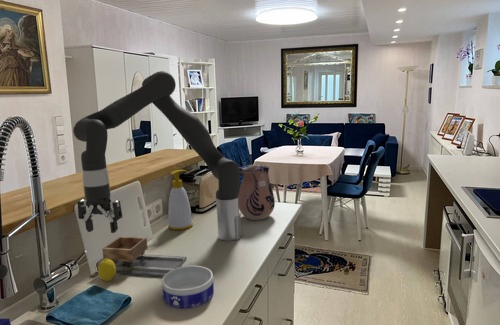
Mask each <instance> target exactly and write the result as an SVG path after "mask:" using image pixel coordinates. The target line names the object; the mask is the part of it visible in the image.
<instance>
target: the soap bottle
mask: <svg viewBox="0 0 500 325" xmlns="http://www.w3.org/2000/svg"><path fill="white" fill-rule="evenodd" d="M183 172H186V173H190V171H189V170H186V169H177V170H172V171H171V172H170V175H171V176H174V180H172V181H171V182H172V187H171V190H170V192H169V197H168V198H169V199H168V208H167V209H168V211H167V212H168V226H167V227H168V228H169V229H170V230H172V231H173V230H174V231H182V230H184V231H185V230H187V229H190V228H191V227H193V225H194V223H193V218H192V216H193V215H192V211H191V204H190V201H189V197H188V194H187V190H186V189H185V188H184V186H183V181H182V180H183V179H180V173H183Z"/></svg>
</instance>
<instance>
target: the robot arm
mask: <svg viewBox="0 0 500 325" xmlns="http://www.w3.org/2000/svg"><path fill="white" fill-rule="evenodd" d="M175 89H176V80H175V78H174V76H173V75H172V74H171V73H169V72H168V71H164V70H161V71H156V72H154V73H152V74H150V75H149V76H147V77H146V78H145V79H143V80H142V83H141V86H140V87H139V88H137V89H135V90H134V91H132V92H130V93H128V94H126V95H125V96H123V97H120V98H119V99H116V100H115V101H113V102H111V103H110V104H108V105H107V106H105V107H104V108H103V109H101V110H98V111H96V112H94V113H91V114H88V115H86V116H85V117H82V118H80V119H79V120H78V121H77V122H76V123H75V124H74V126H73V130H72V131H73V135H74V137H75V139H77V140H79V141H80V142H83V143H85V142H86V143H85V144H86V145H85V150H84V151H82V152H81V155H80V161H81V167H82V168H81V169H82V182H83V183H82V184H83V191H84V192H83V193H84V198H83V199H80V200H78V201H77V203H76V204H77V213H78V214H77V215H78V219H79V220H83V221H84V222H85V230H86V231H87V233H90V232H93V231H94V224H93V222H94V221H93V219H92V218H93V216H94V215H101V216H102V215H103V216H104V217H105V218H107V219H108V220H109V227H110V233H112V234H115V233H117V231H118V229H119V227H118V221H119V220H120V219H122V218H123V212H122V211H123V210H122V205H121V200H120V199H117V200H115V201H113V200H112V199H111V186H110V176H109V172H108V168H107V159H106V151H107V146H108V130H111V129H116V128H117V127H120V126H121V125H122V124H123V123H125V122H126V121H128V120H129V119H130V118H133V116H134V115H136V114H138V113H139V112H141V111H142V110H143V109H144V108H146V107H147V106H149V105H151V104H153V105H154V106H155V108H157V109H158V111H159V112H160V113H162V114H163V115H164V116H165V117H166V119H167V120H168V121H169V122H170V124H171V125H173V127H174V128H175V130H177V132H178V133H179V134H180V136H181V137H182V138H183V139H184V140H185V142H186V143H187V144H188V145H189V146H190V148H192V149H193V150H194V152H195V153H196V154H198V156H199V157H200V158H201V159H202V160H203V162H204V163H205V165H206V166H207V168H208V169H209V171H210V172H211V174H212V175H213V176H214V178H215V179H216V180H218V189H217V190H216V192H215V201H216V203H215V204H216V218H217V233H218V234H217V235H218V239H219V240H221V241H227V242H228V241H235V240H239V239H240V237H241V236H242V234H243V233H242V217H241V215H242V213H241V212H240V210H239V199H238V193H239V190H240V186H241V183H240V182H241V180H240V177H241V176H240V175H241V174H240V173H241V172H239V167H240V166H239V164H238V163H237V162H236V161H234V160H231V159H230V158H229V159H228V158H226V157H225V156H224V155H223V154H222V153H221V152H220V151H219V150H218V148H217V147H216V146H215V144H214V142H213V139H212V136H211V133H209V130H208V129H207V127H206V126H205V124H204V123H203V122H202V121H201V120H200V119H199V118H198V116H197V115H195V114H193V113H192V112H191V111H190V110H187V109H186V108H184V107H183V106H180V104H178V103H177V102H176V101H175V100H174V99H173V97H172V96H171V95H173V93H174V91H175ZM87 208H88V209H87Z"/></svg>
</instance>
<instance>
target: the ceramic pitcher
mask: <svg viewBox="0 0 500 325" xmlns="http://www.w3.org/2000/svg"><path fill="white" fill-rule="evenodd" d="M238 167H239V172H240V173H241V175H242V181H241V183H240V190H239V193H238V199H239V213H241V215H242V216H243V217H245V219H248V220H252V221H261V220H265V219H267V218H268V217H270V215H271V214H272V213H273V211H274V209H275V195H274V190H273V187H272V184H271V181H270V177H269V171H270V167H269V166H266V165H262V164H259V163H258V164H248V165H244V166H238Z"/></svg>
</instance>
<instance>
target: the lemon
mask: <svg viewBox="0 0 500 325" xmlns="http://www.w3.org/2000/svg"><path fill="white" fill-rule="evenodd" d="M97 274H98V277H99V278H100V280H103V281H106V282H110V281H111V280H113V279H114V277H115V276H116V275H117V274H116V266H115V264H114V262H113V261H112V260H110V259H104V260H103V261H101V262H100V264H99V266H98V273H97Z"/></svg>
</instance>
